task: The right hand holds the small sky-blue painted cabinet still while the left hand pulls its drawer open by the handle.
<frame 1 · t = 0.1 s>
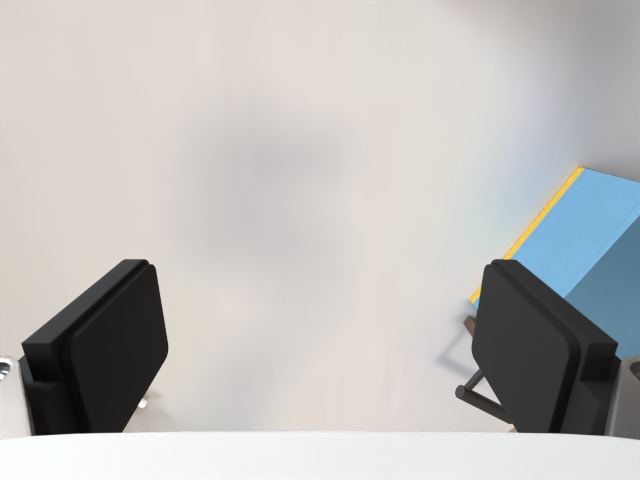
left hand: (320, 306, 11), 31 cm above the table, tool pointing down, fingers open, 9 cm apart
cabinet: (557, 260, 44), on the table
drawer: (546, 326, 41), point 5 cm above the table, slide at 1.4 cm
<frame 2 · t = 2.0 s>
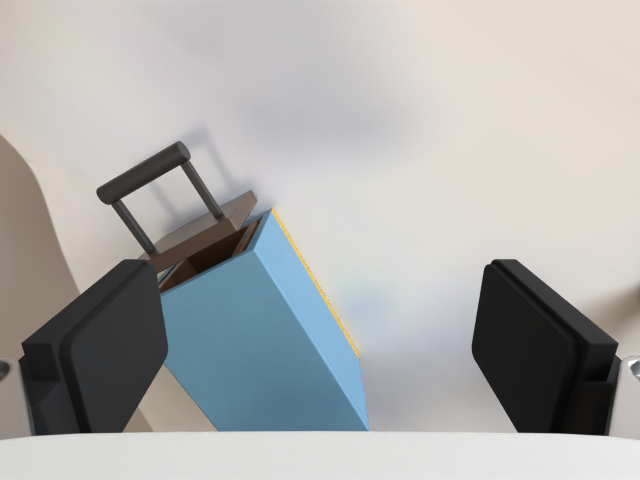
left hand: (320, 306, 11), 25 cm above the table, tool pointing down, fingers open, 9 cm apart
cabinet: (271, 308, 40), on the table
drawer: (227, 284, 33), point 5 cm above the table, slide at 1.4 cm
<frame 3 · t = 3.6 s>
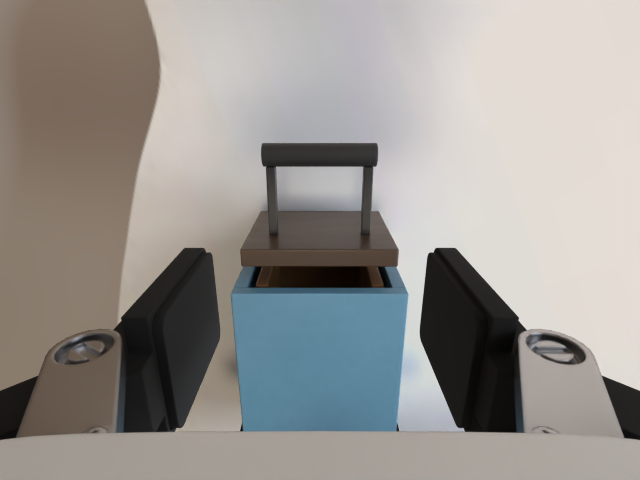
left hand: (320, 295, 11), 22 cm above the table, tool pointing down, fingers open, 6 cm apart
cabinet: (319, 326, 37), on the table, touching right hand
drawer: (319, 296, 30), point 5 cm above the table, slide at 1.4 cm
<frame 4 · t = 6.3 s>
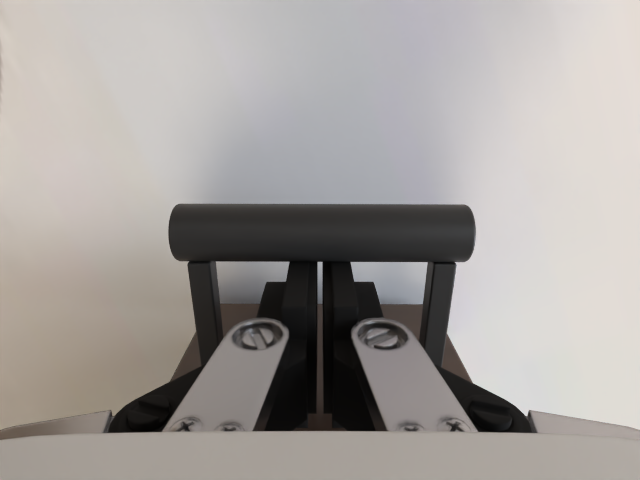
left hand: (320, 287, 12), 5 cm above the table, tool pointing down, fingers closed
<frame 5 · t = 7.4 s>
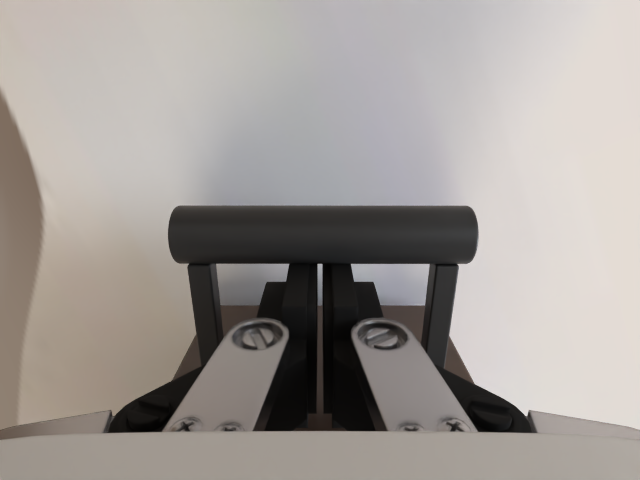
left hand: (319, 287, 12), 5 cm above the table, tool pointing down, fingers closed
when the right hand's fingers open (6 cm above the table, at t = 9.4 s): cabinet stays where it is, on the table.
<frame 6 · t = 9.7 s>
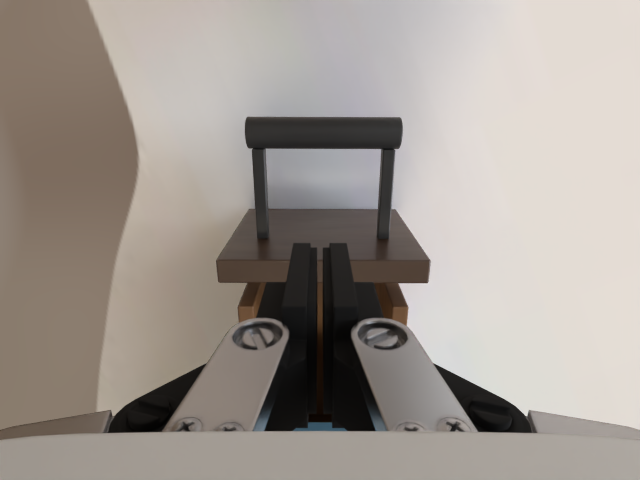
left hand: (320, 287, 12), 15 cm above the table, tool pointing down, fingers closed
drawer: (322, 316, 24), point 5 cm above the table, slide at 8.3 cm
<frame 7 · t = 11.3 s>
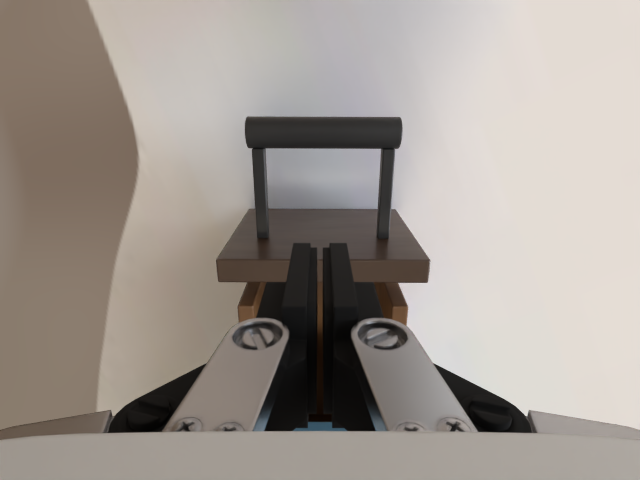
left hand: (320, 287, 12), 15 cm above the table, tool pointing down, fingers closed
drawer: (322, 316, 24), point 5 cm above the table, slide at 8.3 cm
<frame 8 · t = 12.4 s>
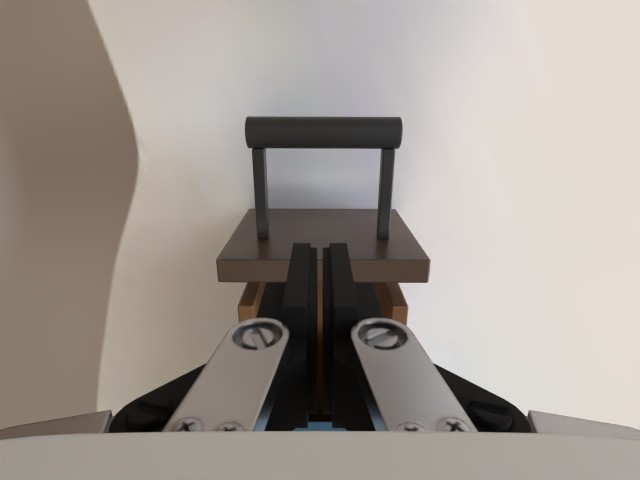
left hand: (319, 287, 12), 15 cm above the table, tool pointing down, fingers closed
drawer: (322, 316, 24), point 5 cm above the table, slide at 8.3 cm
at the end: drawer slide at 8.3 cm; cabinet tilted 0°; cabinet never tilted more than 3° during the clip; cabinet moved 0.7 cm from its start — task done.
